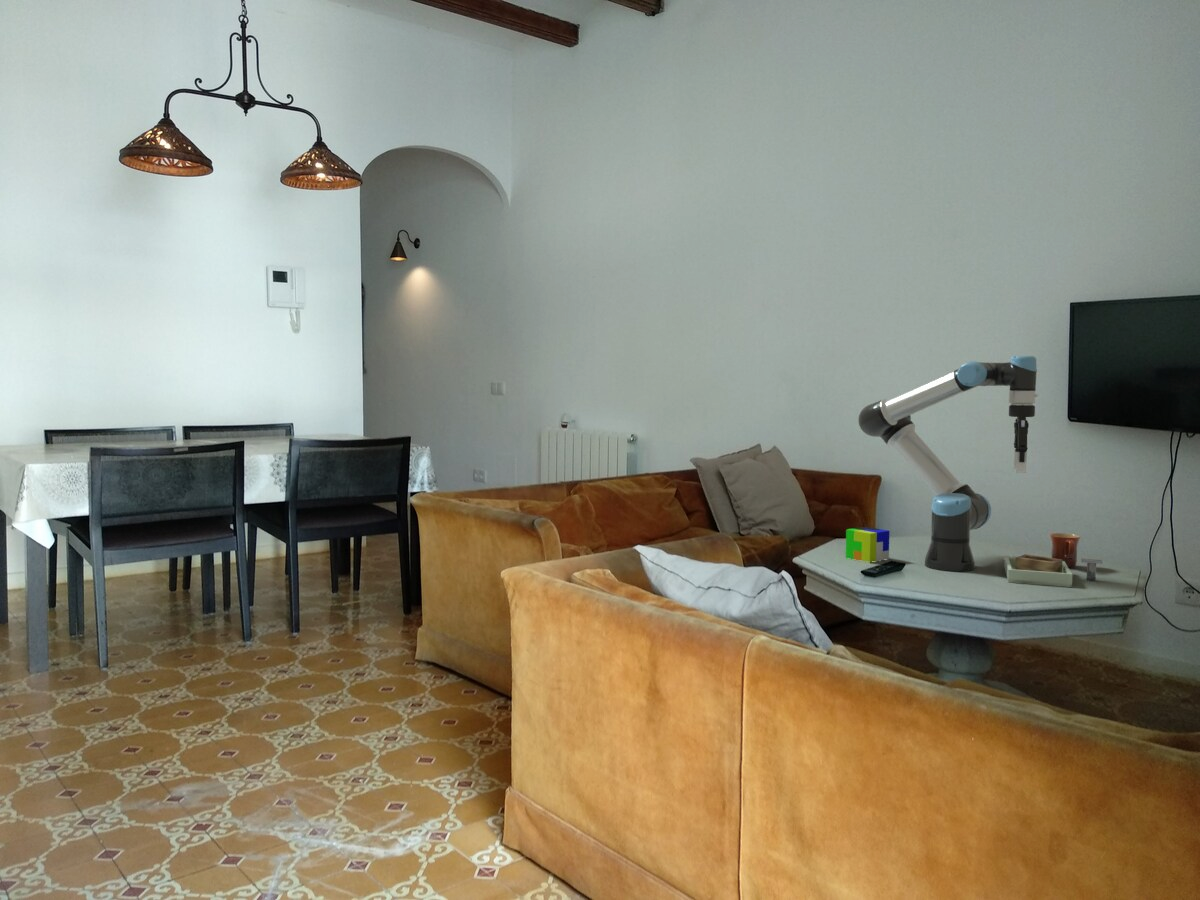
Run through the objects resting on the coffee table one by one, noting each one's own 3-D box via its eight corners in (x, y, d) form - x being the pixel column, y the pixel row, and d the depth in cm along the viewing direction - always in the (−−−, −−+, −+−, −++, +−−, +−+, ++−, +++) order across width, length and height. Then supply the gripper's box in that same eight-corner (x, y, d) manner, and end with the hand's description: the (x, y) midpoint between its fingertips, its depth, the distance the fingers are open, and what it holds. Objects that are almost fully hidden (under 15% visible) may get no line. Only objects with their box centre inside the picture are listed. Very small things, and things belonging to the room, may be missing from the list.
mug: (1045, 563, 289) (1046, 532, 288) (1073, 564, 287) (1075, 533, 286) (1056, 570, 277) (1057, 539, 276) (1086, 571, 275) (1087, 540, 274)
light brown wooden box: (1061, 575, 266) (1062, 559, 266) (1052, 579, 261) (1053, 563, 261) (1024, 569, 274) (1025, 554, 274) (1015, 573, 269) (1015, 557, 268)
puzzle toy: (888, 559, 294) (889, 530, 293) (869, 563, 288) (870, 533, 288) (864, 555, 302) (865, 526, 301) (845, 558, 297) (846, 529, 296)
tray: (1008, 582, 261) (1008, 569, 261) (1004, 568, 279) (1004, 557, 279) (1071, 587, 255) (1072, 574, 254) (1063, 573, 273) (1064, 561, 273)
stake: (1081, 580, 263) (1082, 558, 263) (1080, 578, 265) (1081, 557, 265) (1101, 581, 261) (1102, 560, 261) (1100, 580, 263) (1101, 558, 263)
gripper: (1038, 405, 264) (1036, 474, 266) (1031, 403, 287) (1029, 467, 289) (1011, 405, 267) (1008, 473, 268) (1006, 403, 290) (1004, 466, 291)
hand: (1019, 470), depth 278 cm, fingers open, 13 cm apart
